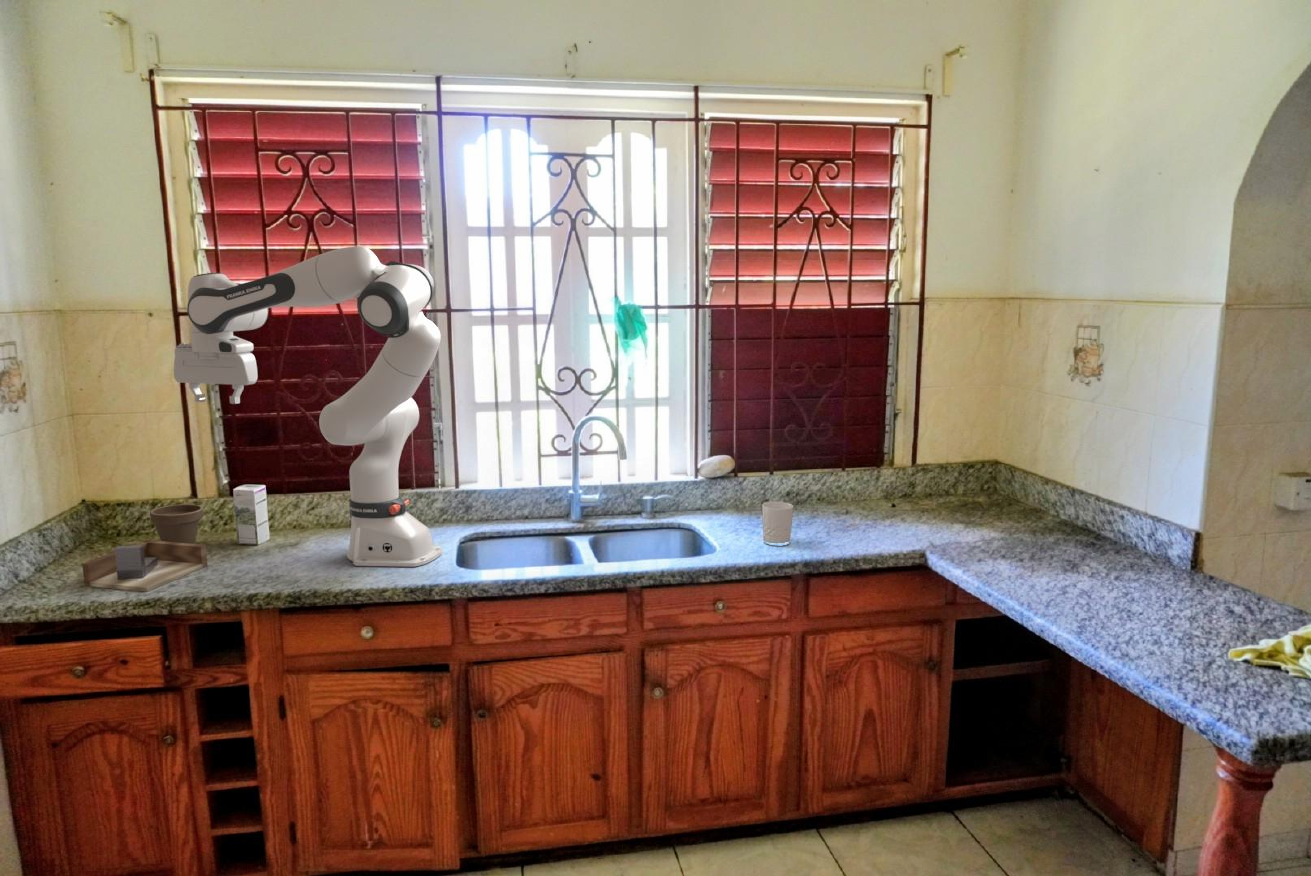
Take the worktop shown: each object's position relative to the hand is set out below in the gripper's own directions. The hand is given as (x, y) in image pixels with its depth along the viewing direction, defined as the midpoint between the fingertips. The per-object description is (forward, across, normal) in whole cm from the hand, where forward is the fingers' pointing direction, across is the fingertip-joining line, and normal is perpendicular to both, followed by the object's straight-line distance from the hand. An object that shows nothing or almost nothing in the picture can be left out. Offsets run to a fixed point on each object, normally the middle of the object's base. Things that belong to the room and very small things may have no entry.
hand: (217, 402), depth 205 cm
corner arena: (+37, -7, -18) cm, 42 cm away
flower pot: (+37, -15, +1) cm, 40 cm away
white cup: (+37, +129, +41) cm, 140 cm away
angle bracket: (+36, -8, -19) cm, 42 cm away
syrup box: (+37, -1, +10) cm, 39 cm away
